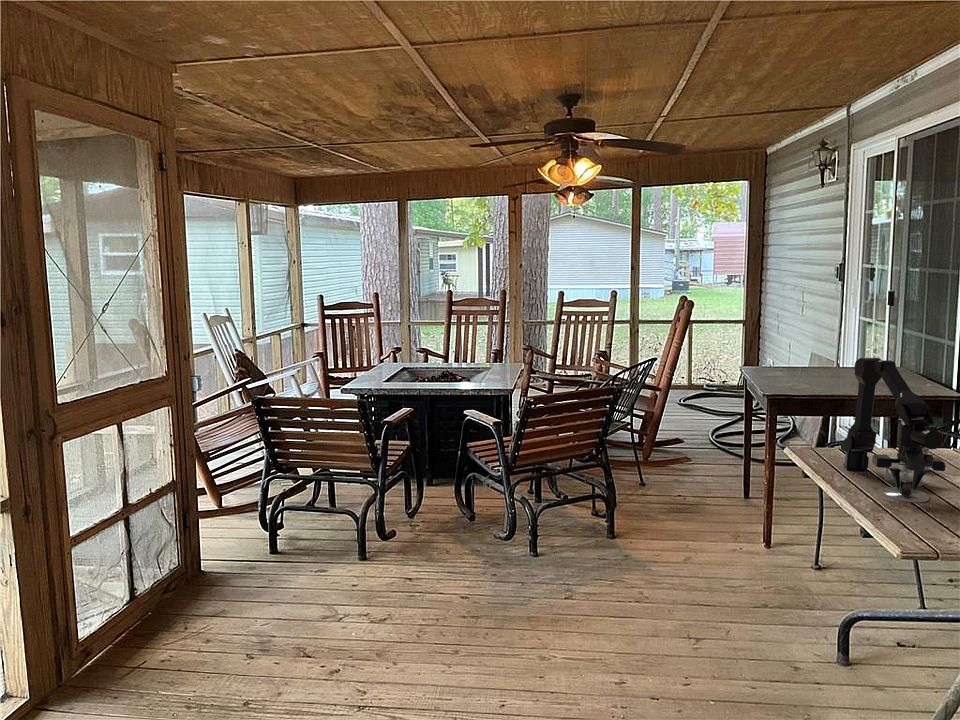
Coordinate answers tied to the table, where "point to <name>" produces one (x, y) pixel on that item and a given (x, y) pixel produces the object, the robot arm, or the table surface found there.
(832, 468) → the table surface
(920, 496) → the lid
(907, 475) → the pot
